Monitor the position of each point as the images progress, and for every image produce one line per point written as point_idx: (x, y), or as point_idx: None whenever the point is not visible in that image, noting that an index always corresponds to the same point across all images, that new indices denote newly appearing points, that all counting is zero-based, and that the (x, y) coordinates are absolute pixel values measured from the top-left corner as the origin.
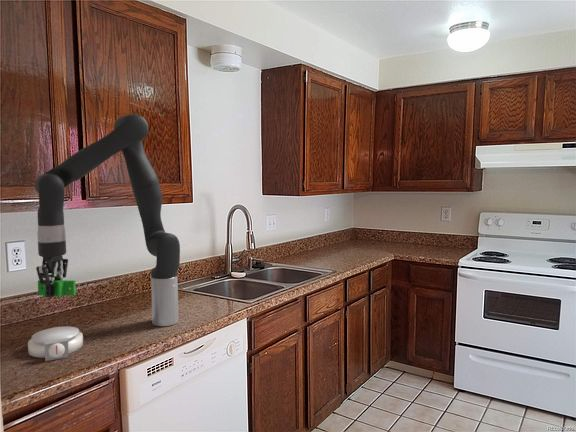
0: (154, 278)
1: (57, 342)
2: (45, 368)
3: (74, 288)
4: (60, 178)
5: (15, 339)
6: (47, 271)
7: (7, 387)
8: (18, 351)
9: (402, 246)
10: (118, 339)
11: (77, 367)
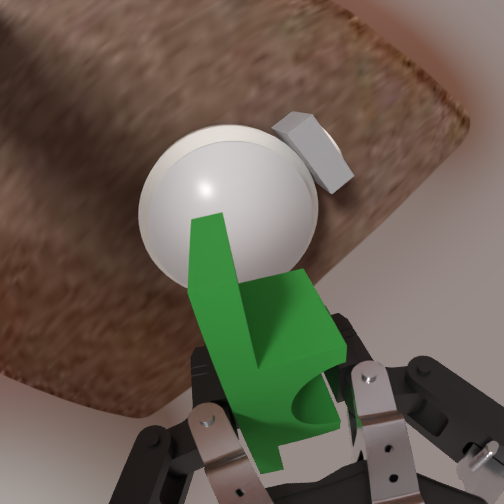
0: None
1: (332, 142)
2: (369, 130)
3: (210, 240)
4: None
5: None
6: (492, 433)
7: (448, 154)
8: None
9: None
10: (107, 49)
11: (351, 44)
